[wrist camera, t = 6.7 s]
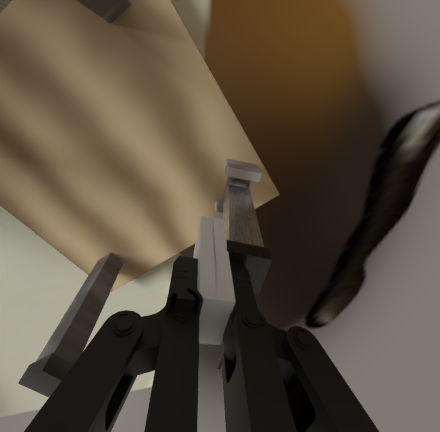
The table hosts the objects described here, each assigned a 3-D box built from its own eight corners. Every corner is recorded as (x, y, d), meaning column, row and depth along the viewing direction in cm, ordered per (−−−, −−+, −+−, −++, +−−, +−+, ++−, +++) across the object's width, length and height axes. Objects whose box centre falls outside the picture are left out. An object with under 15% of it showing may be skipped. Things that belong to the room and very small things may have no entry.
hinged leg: (226, 172, 23) (250, 177, 23) (221, 196, 24) (243, 201, 24) (227, 249, 12) (272, 258, 12) (216, 286, 13) (258, 294, 13)
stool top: (118, 275, 33) (53, 418, 19) (-67, 119, 22) (-530, 174, 8) (272, 184, 27) (343, 286, 13) (125, -76, 17) (-241, -829, 3)
